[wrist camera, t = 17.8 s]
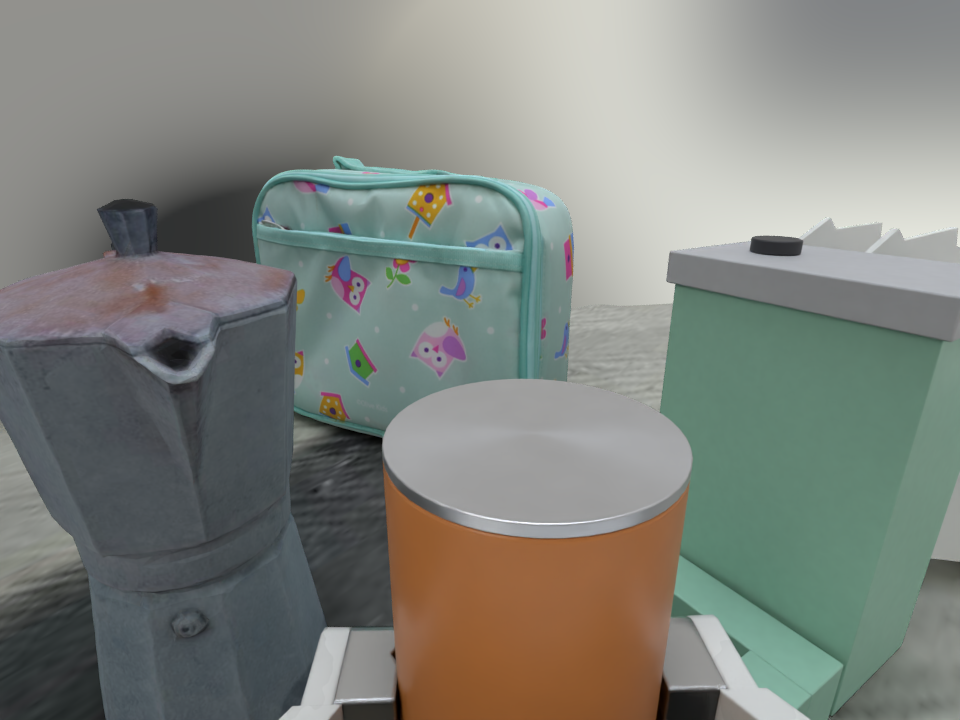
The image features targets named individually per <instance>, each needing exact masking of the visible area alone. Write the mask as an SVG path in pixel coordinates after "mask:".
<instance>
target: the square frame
mask: <svg viewBox="0 0 960 720" xmlns="http://www.w3.org/2000/svg"><path fill="white" fill-rule="evenodd" d="M712 614H713V615H714V616H716V617H717V618H718V619H719V621H720V623H721V624H722V626H723V628H724V630H725V631H726V633H727V635H728V636H729V638H730V640H731V641H732V643H733V645H734V647H735V648H736V650H737V652H738V653H739V655H740V657H741V658H742V660H743V662H744V664H745V665H746V667H747V669H748V670H749V672H750V674H751V676H752V677H753V679H754V681H755V682H756V684H757V686H758V687H759V688H768V689H769V690H771V691H772V692H773V693H775V694H776V695H777V696H779V697H780V698H782V699H783V700H784V701H786V702H787V703H789V704H790V705H791V706H793V707H794V708H795V709H797V710H798V711H800V712H801V713H802V714H804V715H805V716H806V717H808V718H809V719H811V720H828V717H829V714H830V710H831V707H832V703H833V700H834V696H835V693H836V690H837V686H838V683H839V679H840V676H841V673H842V669H843V664H842V663H840V662H839V661H837V660H836V659H835V658H833V657H832V656H830V655H829V654H827V653H826V652H824V651H823V650H821V649H820V648H818V647H817V646H815V645H814V644H812V643H811V642H809V641H808V640H806V639H805V638H803V637H802V636H800V635H799V634H797V633H796V632H794V631H793V630H791V629H790V628H788V627H787V626H785V625H784V624H782V623H781V622H779V621H778V620H776V619H775V618H773V617H772V616H770V615H769V614H767V613H766V612H764V611H763V610H761V609H760V608H758V607H757V606H755V605H754V604H752V603H751V602H749V601H748V600H746V599H745V598H743V597H742V596H740V595H739V594H737V593H736V592H734V591H733V590H731V589H730V588H728V587H727V586H725V585H724V584H722V583H721V582H719V581H718V580H716V579H715V578H713V577H712V576H710V575H709V574H707V573H706V572H704V571H703V570H701V569H700V568H698V567H697V566H695V565H694V564H692V563H691V562H689V561H688V560H686V559H685V558H683V557H682V556H680V555H679V562H678V569H677V576H676V583H675V590H674V597H673V604H672V611H671V616H690V615H712Z"/></svg>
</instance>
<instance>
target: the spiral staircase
mask: <svg viewBox="0 0 960 720" xmlns="http://www.w3.org/2000/svg"><path fill="white" fill-rule="evenodd" d="M881 229H882V223H877V222H876V223H869V224H862V225H856V226H848V227H842V228H835V226H834V224H833V222H832V219H831V218H824V219H823V220H822V221H821V222H819V223H818V224H817V225H815V226H814V227H813V228H811V229H810V230H809V231H807V232H806V233H805V234H804V235H802V236H801V237H800V238H798V239H801V240H803V245H807V246H816V247H824V248H832V249H841V250H849V251H857V252H866V253H874V254H882V255H891V256H899V257H908V258H916V259H924V260H933V261H941V262H949V263H958V264H960V247H957V246H956V245H957V233H958V228H946V229H942V230H938V231H934V232H929V233H925V234H921V235H917V236H913V237H909V238H903V236H902V234H901V232H900V230H899V229H893V228H892V229H890V230H889V231H888V232H887V233H886V234H885V235H884V236H883V237H881ZM931 558H933V559H941V560H949V561H958V562H960V472H959V475H958V478H957V481H956V484H955V487H954V490H953V493H952V496H951V499H950V502H949V505H948V508H947V511H946V514H945V517H944V520H943V523H942V526H941V529H940V532H939V535H938V538H937V541H936V544H935V547H934V550H933V553H932V556H931Z"/></svg>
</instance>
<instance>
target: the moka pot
mask: <svg viewBox="0 0 960 720" xmlns="http://www.w3.org/2000/svg"><path fill="white" fill-rule="evenodd" d="M97 211H98V213H99V215H100V217H101V219H102V221H103V223H104V226H105V228H106V230H107V232H108V234H109V236H110V238H111V240H112V244H111V247H112V251H106V252H104V253H103V256H104V258H103V259H99V260H95V261H92V262H88V263H84V264H80V265H76V266H72V267H69V268H65V269H61V270H57V271H53V272H49V273H45V274H40V275H37V276H33V277H30V278H26V279H23V280H21V281H18V282H16V283H14V284H11V285H9V286H7V287H5V288H3V289H1V290H0V420H1V421H2V423H3V425H4V427H5V429H6V431H7V432H8V434H9V436H10V438H11V440H12V442H13V443H14V445H15V447H16V449H17V451H18V453H19V455H20V457H21V459H22V461H23V463H24V465H25V467H26V469H27V471H28V473H29V475H30V477H31V479H32V481H33V483H34V485H35V486H36V488H37V490H38V492H39V494H40V496H41V498H42V500H43V502H44V503H45V505H46V507H47V509H48V511H49V512H50V514H51V516H52V517H53V518H54V519H55V520H56V521H57V522H58V523H59V525H60V526H61V527H62V528H63V529H64V530H65V531H66V532H68V533H69V534H70V535H72V536H73V538H74V541H75V543H76V546H77V548H78V551H79V554H80V557H81V559H82V562H83V565H84V567H85V568H86V570H87V572H88V577H89V585H90V593H91V601H92V612H93V622H94V628H95V638H96V650H97V657H98V668H99V678H100V685H101V692H102V699H103V706H104V713H105V718H106V720H279V719H280V718H281V717H282V716H283V715H284V714H285V713H286V712H287V711H288V710H289V709H290V708H291V707H292V706H300V705H301V702H302V698H303V695H304V691H305V688H306V684H307V681H308V677H309V674H310V670H311V667H312V663H313V660H314V656H315V653H316V649H317V646H318V642H319V639H320V635H321V633H322V632H323V630H324V628H325V627H327V624H326V620H325V617H324V613H323V610H322V607H321V604H320V601H319V598H318V594H317V591H316V588H315V584H314V581H313V578H312V575H311V572H310V568H309V565H308V562H307V559H306V556H305V553H304V550H303V547H302V543H301V540H300V537H299V533H298V530H297V526H296V523H295V521H294V518H293V516H292V514H291V512H290V504H291V502H290V485H289V476H290V470H291V463H292V454H293V426H294V377H295V342H296V306H297V279H296V277H295V274H294V273H293V272H291V271H288V270H284V269H279V268H275V267H270V266H265V265H260V264H255V263H249V262H245V261H239V260H233V259H228V258H221V257H211V256H200V255H190V254H179V253H178V254H177V253H168V252H161V251H158V250H157V208H156V207H155V206H154V205H153V204H151V203H147V202H142V201H138V200H133V199H121V200H114V201H112V202H110V203H108V204H107V205H105V206H103V207H101V208H99V209H97Z"/></svg>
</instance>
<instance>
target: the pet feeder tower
mask: <svg viewBox="0 0 960 720" xmlns="http://www.w3.org/2000/svg"><path fill="white" fill-rule="evenodd" d="M667 282H669V283H674V284H676V285H675V293H674V302H673V309H672V317H671V326H670V334H669V342H668V350H667V358H666V366H665V375H664V383H663V391H662V399H661V407H660V413H661V414H663V415H664V416H665V417H667V418H668V419H670V420H671V421H672V422H673V423H674V424H675V425H676V426H677V427H678V428H679V429H680V430H681V431H682V433H683V434H684V435H685V437H686V438H687V440H688V442H689V445H690V447H691V450H692V456H693V463H692V471H691V478H690V485H689V492H688V499H687V506H686V513H685V520H684V527H683V534H682V541H681V548H680V556H682V557H683V558H685V559H686V560H688V561H689V562H691V563H692V564H694V565H695V566H697V567H698V568H700V569H701V570H703V571H704V572H706V573H707V574H709V575H710V576H712V577H713V578H715V579H716V580H718V581H719V582H721V583H722V584H724V585H725V586H727V587H728V588H730V589H731V590H733V591H734V592H736V593H737V594H739V595H740V596H742V597H743V598H745V599H746V600H748V601H749V602H751V603H752V604H754V605H755V606H757V607H758V608H760V609H761V610H763V611H764V612H766V613H767V614H769V615H770V616H772V617H773V618H775V619H776V620H778V621H779V622H781V623H782V624H784V625H785V626H787V627H788V628H790V629H791V630H793V631H794V632H796V633H797V634H799V635H800V636H802V637H803V638H805V639H806V640H808V641H809V642H811V643H812V644H814V645H815V646H817V647H818V648H820V649H821V650H823V651H824V652H826V653H827V654H829V655H830V656H832V657H833V658H835V659H836V660H837V661H839V662H840V663H842V664H843V669H842V673H841V676H840V679H839V683H838V686H837V690H836V693H835V696H834V700H833V703H832V707H831V710H830V714H829V715H831V716H833V715H834V714H835V713H836V712H837V711H838V710H839V709H840V708H841V707H842V706H843V705H844V704H845V703H846V702H847V701H848V699H849V698H850V697H851V696H852V695H853V694H854V693H855V692H856V691H857V690H858V689H859V688H860V687H861V686H862V685H863V684H864V683H865V682H866V681H867V680H868V679H869V678H870V677H871V676H872V675H873V674H874V673H875V672H876V671H877V670H878V669H879V668H880V667H881V666H882V665H883V664H884V663H885V662H886V661H887V660H888V659H889V658H890V657H891V656H892V655H893V654H894V653H895V652H896V651H897V650H898V649H899V648H900V647H901V646H902V643H903V640H904V637H905V634H906V631H907V628H908V625H909V622H910V619H911V616H912V613H913V610H914V607H915V604H916V601H917V598H918V595H919V592H920V589H921V586H922V583H923V580H924V577H925V574H926V571H927V568H928V565H929V562H930V559H931V556H932V553H933V550H934V547H935V544H936V541H937V538H938V535H939V532H940V529H941V526H942V523H943V520H944V517H945V514H946V511H947V508H948V505H949V502H950V499H951V496H952V493H953V490H954V487H955V484H956V481H957V478H958V475H959V472H960V264H958V263H949V262H941V261H933V260H924V259H916V258H908V257H899V256H891V255H882V254H874V253H866V252H857V251H849V250H841V249H832V248H824V247H816V246H807V245H803V240H801V239H798V238H792V237H782V236H755V237H752V239H751V241H748V242H740V243H732V244H724V245H716V246H708V247H700V248H691V249H683V250H676V251H671V252H670V254H669V263H668V272H667Z"/></svg>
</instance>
